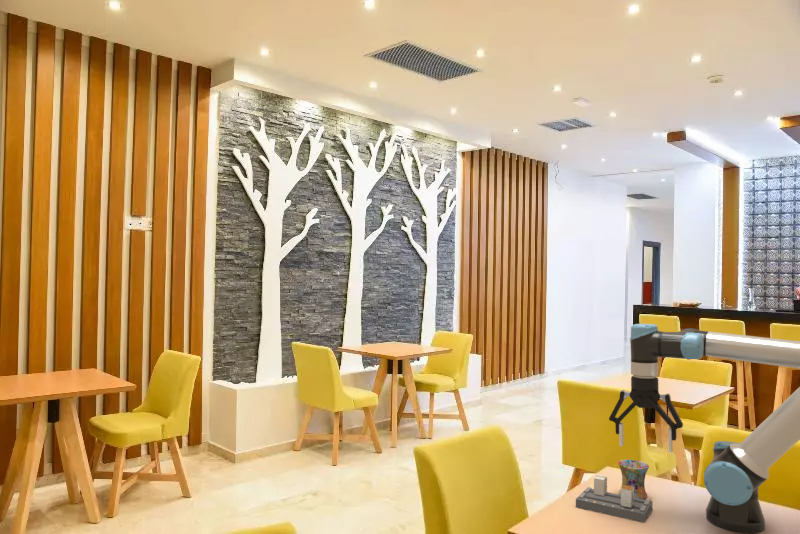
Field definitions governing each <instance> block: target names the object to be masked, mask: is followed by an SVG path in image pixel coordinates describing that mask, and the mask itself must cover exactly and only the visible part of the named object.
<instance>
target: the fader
mask: <svg viewBox="0 0 800 534" xmlns="http://www.w3.org/2000/svg"><path fill="white" fill-rule="evenodd" d="M621 486H622V488H621V487H620V489H621V506H624V507H629V508H631V507H632V506H633V505H634V487H631V486H626V485H622V484H621Z"/></svg>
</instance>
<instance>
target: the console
mask: <svg viewBox="0 0 800 534" xmlns="http://www.w3.org/2000/svg"><path fill="white" fill-rule="evenodd" d="M575 508H577V509H582V510H587V511H591V512H595V513H600V514H605V515H609V516H612V517H618V518H622V519H626V520H630V521H635V522H640V523H645V522H646V521H647V519H648V518H649V515H650V514H651V512H652V511H653V500H651V499H647V498H645V499H639V498H634V505H633V506H632V507H631V508H629V507H624V506H621V495H620V493H615V492H609V491H608V476H606V475H601V474H595V477H594V478H593V488H592V487H589V486H587V487H586V488H585V489H584V490H583V492H581V493H580V494H579V495H578V496H577V498H575Z"/></svg>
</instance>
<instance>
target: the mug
mask: <svg viewBox="0 0 800 534" xmlns="http://www.w3.org/2000/svg"><path fill="white" fill-rule="evenodd" d="M618 465H619V468H620V472H621V477H622V479H621V480H622V481H621V487H620V489H619V493H618V494H619V495H621V488H622V485H626V486H631V487H634V498H639V499H643V500H646V499H647V497H648V494H647V492H646V488H645V480H646V479H645V478H646V474H647V472H648V470H649V468H650V465H649V464H648V463H646V462H644V461H641V460H635V459H621V460H619V461H618Z"/></svg>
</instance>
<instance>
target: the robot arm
mask: <svg viewBox="0 0 800 534" xmlns="http://www.w3.org/2000/svg"><path fill="white" fill-rule="evenodd" d="M629 341H630V374H631V375H632V376H631V377H630V389H631V390H630V391H627V390H624V389H622V390H621V391H620V392H619V397H618V401H617V402H616V404H615V406H614V407H613V410H612V412H611V413H610V416H609V418H608V420H609V421H610V422H613V423H614V424H615V434H616V435H619V439H618V440H619V447H623V446H624V441H625V440H624V422H622V420H624V419H625V417H627V415H628V414H629V413H630V412H631V411H632V410H634V408H635V407H636V406H637V408H640V409H643V408H646V409H648V410H649V409H654V410H655V412H656V413H657V414H658V415H659V416H660V417H661V418H662V419H663V420H664V421H665V423H666V424H667V425H668V426H669V428H668V429H667V431H668V432H667V433H668V434H667V436H668V453H672V452H673V441H676V440H677V429H682V428H683V426H684V423H683V420H682V419H681V417H680V416H679V413H678V411H677V410H676V408H675V406H674V405H673V403H672V398H671V395H670V393H666V394H660V393H659V378H658V376H659V358H671V359H683V360H700V359H702V358H703V357H711V358H717V359H725V360H733V361H740V362H747V363H755V364H762V365H769V366H776V367H784V368H785V367H786V368H793V369H800V340H790V339H781V338H774V337H773V338H771V337H762V336H755V335H746V334H736V333H727V332H717V331H707V330H699V329H696V328H690V327H687V328H684V329H681V330H680V331H661V330H659V328H658V325H657V324H654V323H652V324H651V323H635V324H632V325H631V326H630V339H629ZM628 397H629V398H630V399H631V400H632V402H631V404H629V406H628V407H626V409H625V410H624V411H623V412H622V413H621V414H620V415H619V416H618V417H617V414H618V413H619V411H620V408H621V407H622V405H623V403H624V401H625V399H628ZM660 399H661V400H662V402H663V403H665V404H666V407H667V408H668V411H669V412H670V414H671V416H672V418H673V420H674V421H673V420H672V419H671V417H670V416H669V415H668V413H666V412H665V410H664V409H663V408H662V407H661V405H660V404H659V403H658V402H659V401H660ZM799 441H800V386H799V387H798V388H797V389H796V390H794V392H792V393H791V394H790V395H789V396H788V397H787V398H786V399H784V401H783V402H782V403H781V404H780V405H779V406H778V407H777V408H776V409H775V410H774V411H772V412H771V413H770V415H768V416H767V418H766V419H764V420H763V421H762V422H761V423H760V424H759V425H758V426H757V427H756V428H755V429H754V430H753V431H752V432H751V433H749V435H748V436H746V437H745V438H744V440H743V441H741V442H736V441H735V442H734V441H726V440H718V441H715V442H714V443H713V448H712V451H713V457H712V458H713V459H711V461H710V463H709V464H708V465H707V466H706V468H705V470H704V473H703V482H704V486H705V489H706V490H707V492H708V493H709V495H710V498H709V501H708V504H707V506H706V510H705V518H706V520H707V521H708V522H709V523H711V524H713V525H715V526H717V527H720V528H721V529H726V530H727V531H732V532H739V533H751V534H752V533H760V532H763V531H764V530H765V529H766V520H765V517H764V514H763V510H762V506H761V504H760V501H759V487H760V486H761V485H762V484H763V483H764V482H766V481H767V480H768V479H769V477H770V474H769V469H770V468H771V467H772V466H773V465H774V464H775V463H776V462H777V461H779V459H781V458H782V457H783V456H784V455H785V454H786V453H787V452H789V450H790V449H791V448H792V447H794V446H795V445H796V444H797V443H798V442H799Z"/></svg>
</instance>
